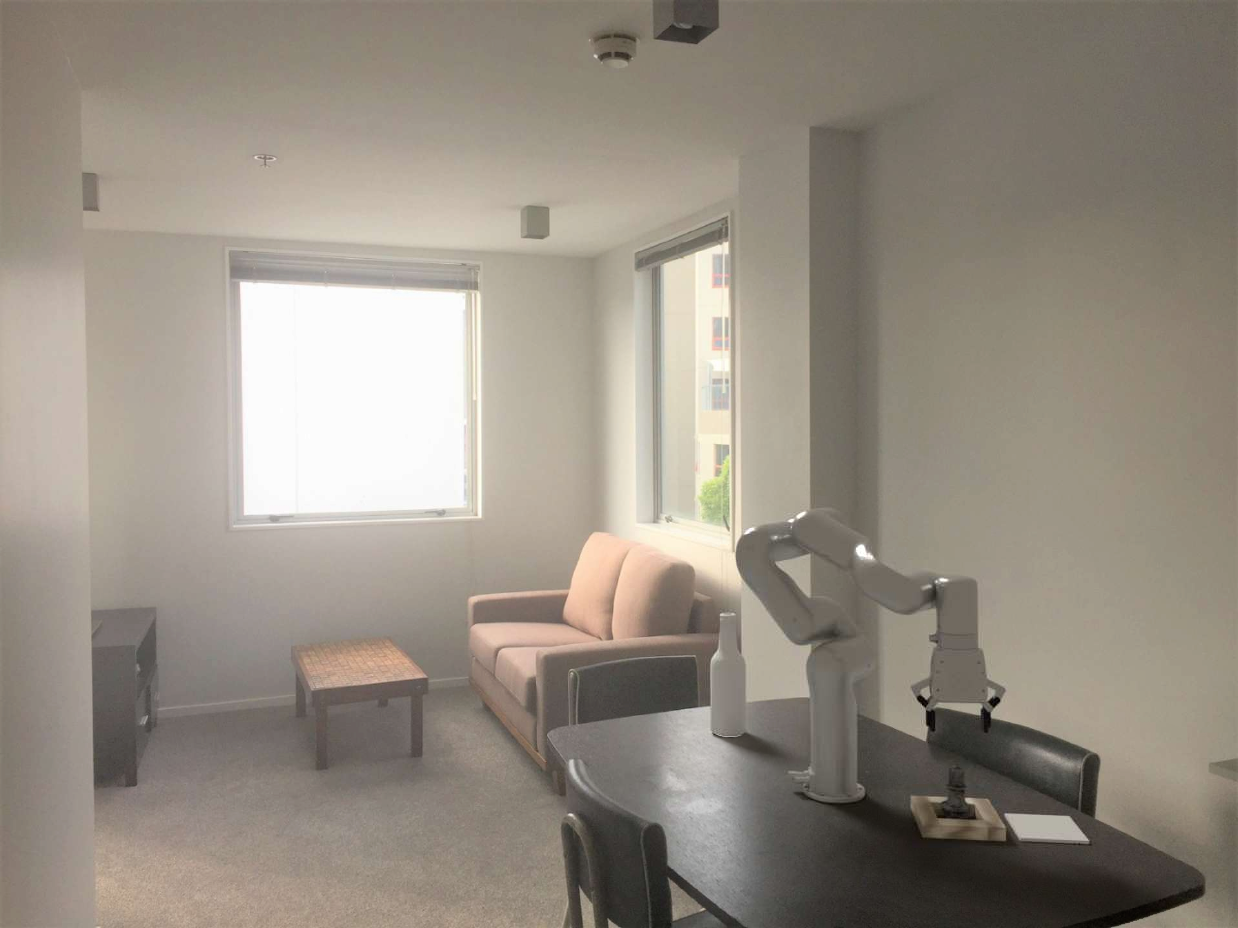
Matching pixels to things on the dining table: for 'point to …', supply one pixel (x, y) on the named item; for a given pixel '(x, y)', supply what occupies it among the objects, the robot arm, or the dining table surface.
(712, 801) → the dining table surface
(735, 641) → the alcohol
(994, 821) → the frame
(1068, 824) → the rubber mat
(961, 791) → the black chess piece
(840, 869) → the dining table surface
